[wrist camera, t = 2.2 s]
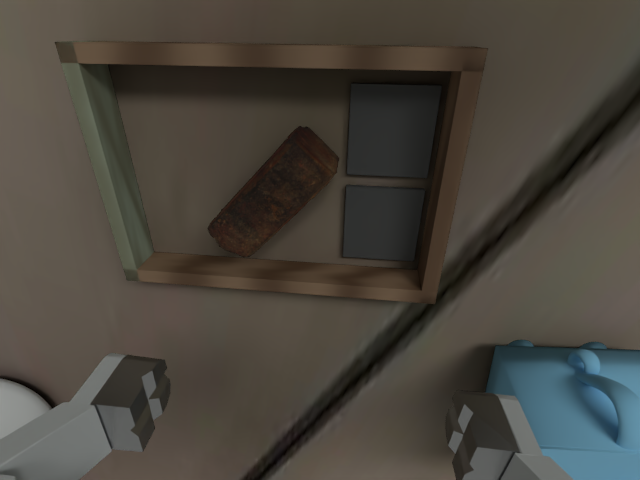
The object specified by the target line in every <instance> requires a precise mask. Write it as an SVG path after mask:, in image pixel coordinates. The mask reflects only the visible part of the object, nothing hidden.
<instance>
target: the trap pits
mask: <svg viewBox="0 0 640 480" xmlns="http://www.w3.org/2000/svg"><path fill="white" fill-rule="evenodd" d="M441 89H442V85H417V84H376V83H351V99H350V120H349V141H348V162H347V174H352V175H373V176H395V177H417V178H427V176H428V170H429V164H430V157H431V151H432V145H433V139H434V133H435V126H436V120H437V114H438V108H439V101H440V95H441ZM424 195H425V189H422V188H402V187H382V186H361V185H346V203H345V224H344V245H343V257H356V258H371V259H386V260H401V261H414V257H415V251H416V244H417V238H418V232H419V226H420V220H421V213H422V207H423V201H424Z"/></svg>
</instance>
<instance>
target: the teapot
mask: <svg viewBox="0 0 640 480" xmlns="http://www.w3.org/2000/svg"><path fill="white" fill-rule="evenodd" d="M485 393H493V394H501V395H510V396H515V397H516V398H517V399H518V401H519V403H520V405H521V407H522V410H523V412H524V414H525V416H526V418H527V421H528V423H529V425H530V427H531V429H532V432H533V434H534V436H535V438H536V440H537V443H538V445H539V447H540V449H541V451H542V454H543V456H548V457H550V458H551V459H552V460H554V461H555V462H556V463H557V464H558V465H559V466H560V467H561V468H562V469H563V470H564V471H565V472H566V473H567V474H568V475H569V476H571V477H572V478H573V479H574V480H640V350H625V349H607V348H606V346H605V345H604V344H602V343H599V342H589V343H586V344H584V345H582V346H581V347H579V348H564V347H534V345H533V344H532V343H531V342H530V341H527V340H516V341H513V342H511V343H510V344H508V345H507V346H499V345H496V347H495V351H494V355H493V360H492V364H491V369H490V373H489V377H488V382H487V386H486V391H485Z"/></svg>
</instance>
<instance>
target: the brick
mask: <svg viewBox="0 0 640 480" xmlns="http://www.w3.org/2000/svg"><path fill="white" fill-rule="evenodd" d="M338 161H339V157H338V156H337V155H336V154H335V153H334V152H333V151H332V150H331V149H330V148H329V147H328V146H327V145H326V144H325V143H324V142H323V141H322V140H321V139H320V138H319V137H318V136H317V135H316V134H315V133H314V132H313V131H312V130H311V129H310V128H308V127H305V128H304V127H301V126H299V127H298V128H296V129H295V130H294V131H293V132H292V133H291V134H290V135H289V136H288V138H287V139H286V140H285V141H284V143H283V144H282V145H281V146H280V147H279V148H278V149H277V150H276V152H275V153H274V154H273V155H272V156H271V157H270V158H269V159H268V160H267V161H266V162H265V164H264V165H263V166H262V167H261V168H260V169H259V170H258V171H257V172H256V174H255V175H254V176H253V177H252V178H251V179H250V180H249V181H248V182H247V183H246V184H245V186H244V187H243V188H242V189H241V190H240V191H239V192H238V193H237V194H236V195H235V196H234V197H233V198H232V200H231V201H230V202H229V203H228V204H227V205H226V206H225V207H224V208H223V209H222V210H221V212H220V213H219V214H218V215H217V217H216V218H214V219H213V221H212V222H211V223H210V226H209V227H208V231H209V233H210V235H211V236H212V237H213V238H215V240H216V242H217V243H218V244H219V246H220V247H222V248H223V249H225V250H227V251H230V252H233V253H236V254H239V255H240V256H242V257H249V256H251V255H252V254H254V253H255V252H256V251H257V250H258V249H260V248H261V247H262V246H263V245H264V244H265V243H266V242H267V241H268V240H269V239H270V238H271V237H272V236H273V235H274V234H275V233H277V232H278V231H279V230H280V229H281V228H282V227H283V226H284V225H285V224H286V223H287V222H288V221H289V220H290V219H291V218H292V217H293V216H294V215H296V214H297V213H298V212H299V211H300V210H301V209H302V208H303V207H304V206H305V205H306V204H307V203H308V202H309V201H310V200H311V199H313V198H314V197H315V196H316V194H317V193H318V192H319V191H320V190H321V189H322V188H323V187H325V186H326V185H327V184H328V183H329V181H330V180H331V179H332V178H333V176H334V175H335V174H336V173H337V167H338Z"/></svg>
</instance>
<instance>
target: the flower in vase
mask: <svg viewBox="0 0 640 480" xmlns="http://www.w3.org/2000/svg"><path fill="white" fill-rule="evenodd" d="M51 409H52V408H51V406H50V405H49V404H48V403H47V402H46V401H45V400H44V399H43V398H42V397H41V396H40V395H38V394H37V393H36V392H34V391H33V390H31V389H29V388H27V387H25V386H23V385H21V384H18V383H16V382H13V381H9V380H5V379H0V439H2V438H4V437H5V436H7V435H9V434H10V433H12V432H14V431H15V430H17V429H19V428H21V427H22V426H24V425H26V424H27V423H29V422H31V421H32V420H34V419H36V418H37V417H39V416H41V415H43V414H44V413H46V412H48V411H49V410H51Z"/></svg>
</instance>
